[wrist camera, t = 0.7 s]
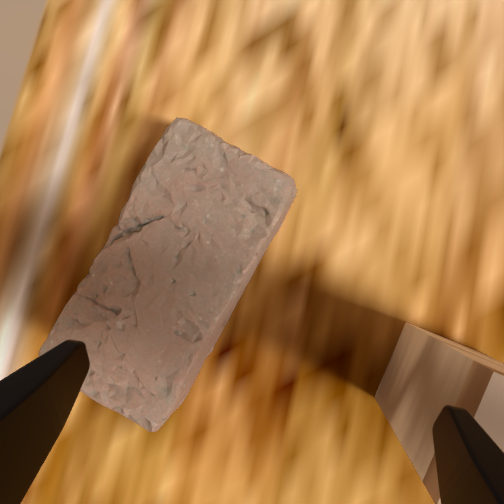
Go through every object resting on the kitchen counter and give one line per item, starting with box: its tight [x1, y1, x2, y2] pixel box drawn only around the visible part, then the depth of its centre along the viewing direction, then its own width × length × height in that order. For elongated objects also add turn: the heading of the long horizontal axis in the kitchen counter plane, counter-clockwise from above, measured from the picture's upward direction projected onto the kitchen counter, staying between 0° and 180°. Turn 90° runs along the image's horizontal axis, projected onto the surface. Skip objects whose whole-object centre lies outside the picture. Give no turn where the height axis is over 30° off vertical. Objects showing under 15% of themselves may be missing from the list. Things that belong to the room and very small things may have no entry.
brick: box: [39, 118, 297, 432], centre depth 22 cm, size 17×8×5 cm, turn 151°
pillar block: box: [375, 322, 504, 504], centre depth 17 cm, size 5×5×10 cm
